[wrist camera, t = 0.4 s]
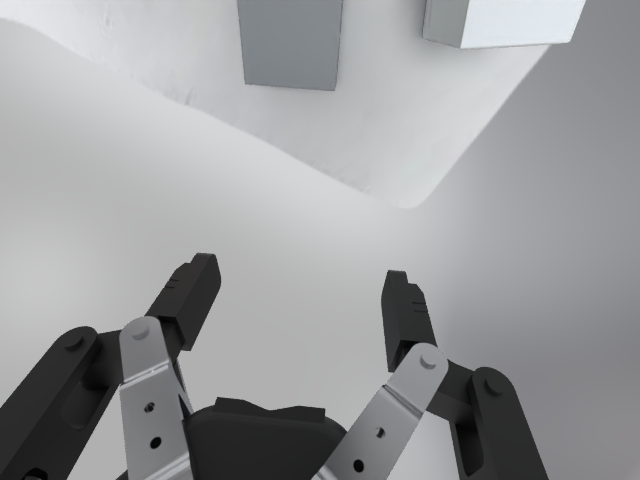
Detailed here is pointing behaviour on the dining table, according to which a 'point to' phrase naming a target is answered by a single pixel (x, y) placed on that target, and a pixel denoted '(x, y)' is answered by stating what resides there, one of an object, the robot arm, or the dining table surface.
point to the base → (291, 42)
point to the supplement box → (500, 22)
